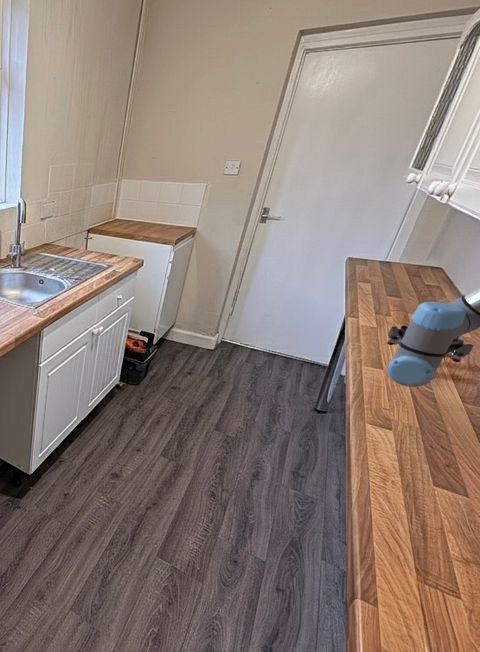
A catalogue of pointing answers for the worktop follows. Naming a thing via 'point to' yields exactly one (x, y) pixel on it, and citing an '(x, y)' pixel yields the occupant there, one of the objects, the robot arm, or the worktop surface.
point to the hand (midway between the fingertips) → (432, 332)
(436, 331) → the robot arm
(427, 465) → the worktop surface
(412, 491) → the worktop surface
